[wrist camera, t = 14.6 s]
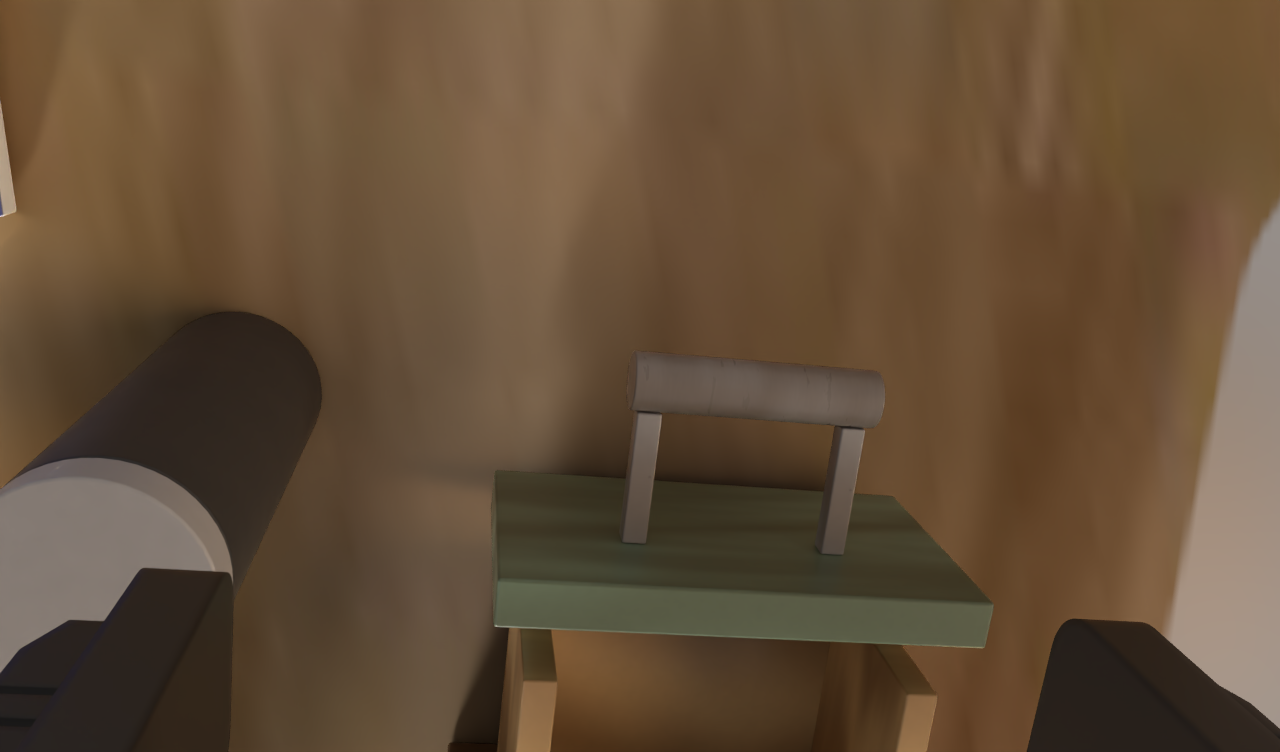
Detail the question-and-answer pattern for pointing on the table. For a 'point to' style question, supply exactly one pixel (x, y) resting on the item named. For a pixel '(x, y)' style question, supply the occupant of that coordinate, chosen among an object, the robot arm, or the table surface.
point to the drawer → (722, 588)
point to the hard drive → (5, 175)
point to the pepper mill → (158, 475)
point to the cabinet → (472, 747)
